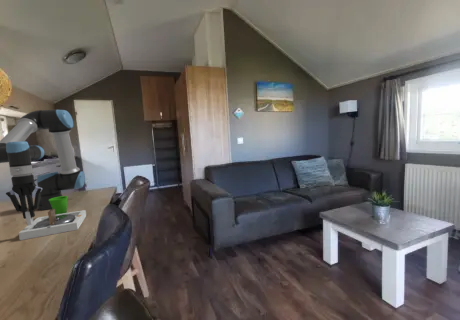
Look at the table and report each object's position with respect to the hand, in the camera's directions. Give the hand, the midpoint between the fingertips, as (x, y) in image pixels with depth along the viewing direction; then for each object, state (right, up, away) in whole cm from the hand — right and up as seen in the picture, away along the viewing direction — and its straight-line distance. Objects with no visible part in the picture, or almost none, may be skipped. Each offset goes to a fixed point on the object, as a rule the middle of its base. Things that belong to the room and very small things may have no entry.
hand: (30, 224), depth 105 cm
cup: (-5, -3, +26) cm, 27 cm away
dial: (+5, -2, +10) cm, 11 cm away
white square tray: (+5, -4, +10) cm, 12 cm away
